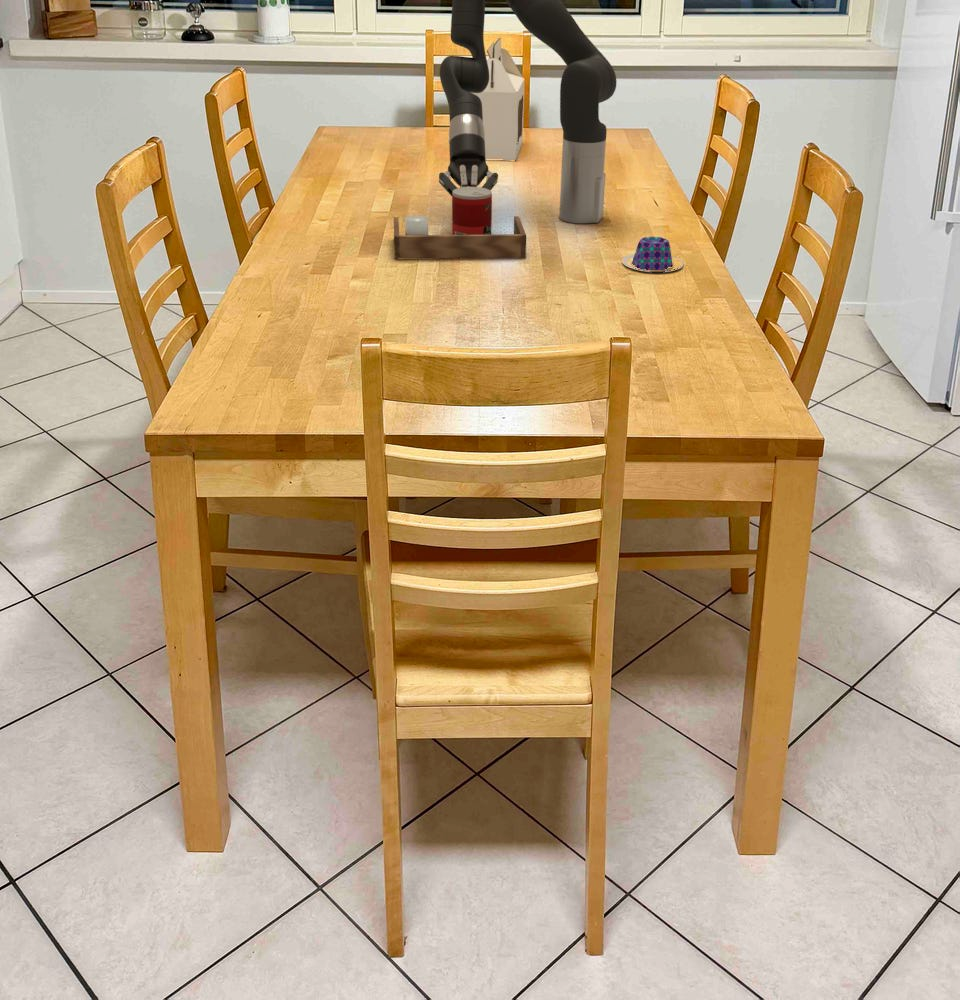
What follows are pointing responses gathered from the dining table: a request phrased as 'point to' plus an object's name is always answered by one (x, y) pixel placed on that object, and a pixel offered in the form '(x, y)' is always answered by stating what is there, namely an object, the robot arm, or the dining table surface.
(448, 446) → the dining table surface
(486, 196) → the canned food
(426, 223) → the grey rounded capsule
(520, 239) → the u-shaped frame
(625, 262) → the patterned hat
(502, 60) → the gable box
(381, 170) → the dining table surface
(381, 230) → the dining table surface
